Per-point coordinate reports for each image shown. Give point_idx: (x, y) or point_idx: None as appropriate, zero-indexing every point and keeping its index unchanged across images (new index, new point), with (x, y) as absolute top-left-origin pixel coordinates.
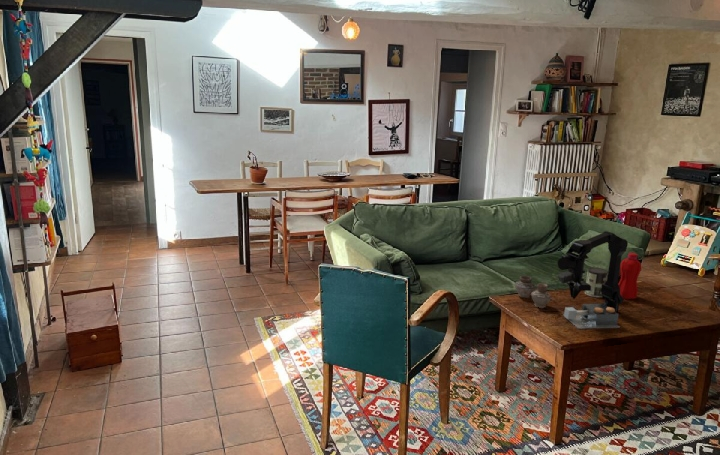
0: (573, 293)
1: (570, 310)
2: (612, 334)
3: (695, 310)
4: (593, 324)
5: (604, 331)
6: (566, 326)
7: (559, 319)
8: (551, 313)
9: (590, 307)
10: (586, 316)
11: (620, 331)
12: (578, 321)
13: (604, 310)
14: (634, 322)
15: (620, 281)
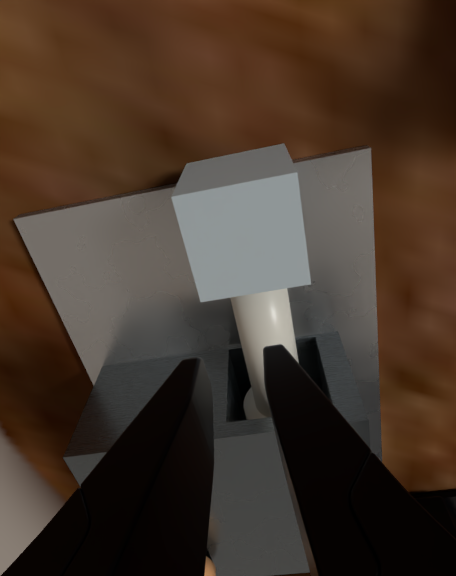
0: (106, 465)
1: (190, 221)
2: (15, 425)
3: None
4: (129, 364)
5: (50, 396)
6: (42, 99)
7: (234, 68)
8: (427, 4)
9: (263, 458)
10: (300, 362)
11: None
12: (177, 263)
13: None
14: None
15: None
